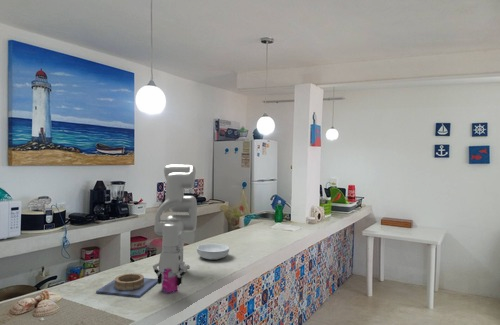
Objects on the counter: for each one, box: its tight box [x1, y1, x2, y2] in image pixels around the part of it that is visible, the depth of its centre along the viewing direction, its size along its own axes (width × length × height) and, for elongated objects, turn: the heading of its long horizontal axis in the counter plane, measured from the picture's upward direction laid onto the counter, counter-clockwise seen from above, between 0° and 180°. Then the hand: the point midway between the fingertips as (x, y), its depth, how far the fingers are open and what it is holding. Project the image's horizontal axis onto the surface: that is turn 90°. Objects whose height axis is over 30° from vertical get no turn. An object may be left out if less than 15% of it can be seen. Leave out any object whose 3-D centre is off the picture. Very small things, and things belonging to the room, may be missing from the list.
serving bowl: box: [196, 242, 230, 261], centre depth 236 cm, size 21×21×7 cm
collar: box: [95, 272, 158, 298], centre depth 182 cm, size 22×22×4 cm
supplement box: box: [161, 269, 179, 295], centre depth 178 cm, size 6×6×12 cm
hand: (169, 284), depth 178 cm, fingers open, 9 cm apart
